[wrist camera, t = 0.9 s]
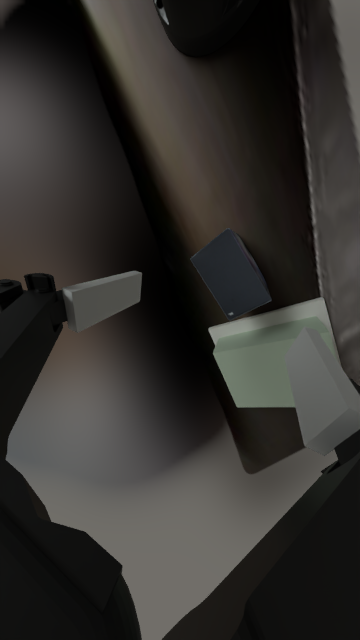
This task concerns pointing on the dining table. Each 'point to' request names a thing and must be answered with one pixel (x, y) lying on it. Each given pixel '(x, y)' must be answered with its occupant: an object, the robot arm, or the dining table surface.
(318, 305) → the baseplate
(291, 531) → the robot arm
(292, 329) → the base brick
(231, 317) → the small box
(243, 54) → the dining table surface
